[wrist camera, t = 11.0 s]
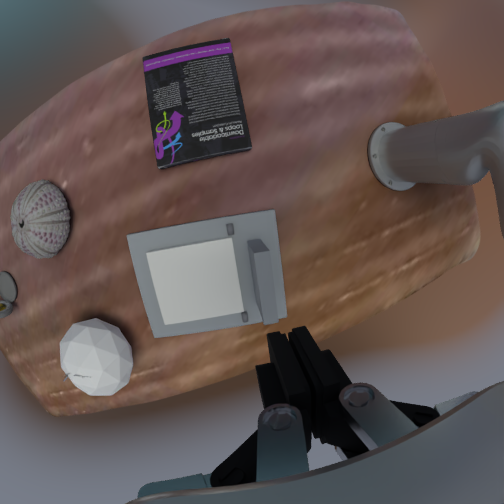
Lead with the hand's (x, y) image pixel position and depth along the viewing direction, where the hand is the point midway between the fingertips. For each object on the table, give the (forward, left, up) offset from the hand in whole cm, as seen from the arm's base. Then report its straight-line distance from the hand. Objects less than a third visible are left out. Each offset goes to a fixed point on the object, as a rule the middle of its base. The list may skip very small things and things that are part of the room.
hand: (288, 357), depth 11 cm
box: (+4, -22, -33) cm, 39 cm away
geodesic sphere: (+27, +15, -32) cm, 45 cm away
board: (+6, +6, -32) cm, 33 cm away
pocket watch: (+50, +3, -32) cm, 60 cm away
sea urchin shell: (+33, -9, -32) cm, 47 cm away
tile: (+7, +6, -30) cm, 31 cm away
